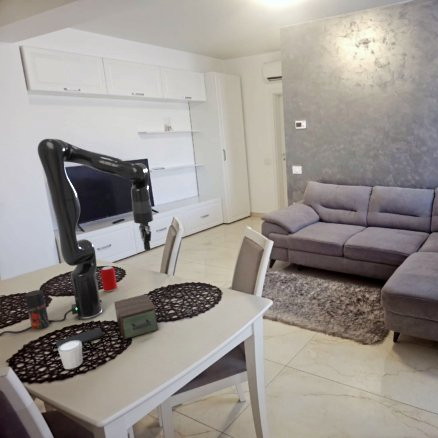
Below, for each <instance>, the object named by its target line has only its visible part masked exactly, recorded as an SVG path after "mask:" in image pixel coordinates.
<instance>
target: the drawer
mask: <svg viewBox="0 0 438 438" xmlns="http://www.w3.org/2000/svg"><path fill="white" fill-rule="evenodd" d="M155 311H156V310H155ZM155 311H154V310H152V311H151V310H150V311H147V312H143V313H141V314H137V315H133V316H128V317H125V318H122V321H123V328H124V334H125V340H127V339H126V338H128V339H130V338H129V337H131V338H133V337H132V336H135V337H137V336H136V335H138V336H140V335H139V334H141V335H143V334H142V333H145V334H147V333H146V332H148V333H150V332H149V331H151V332H153V331H152V330H155V331H157V330H156V329H157V327H156V319H155Z"/></svg>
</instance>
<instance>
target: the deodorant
mask: <svg viewBox="0 0 438 438" xmlns="http://www.w3.org/2000/svg"><path fill="white" fill-rule="evenodd" d="M44 296H45V295H44V291H43V290H42V289H36V290H31V291H28V292H26V293H25V294H24V298H25V302H26V308H27V311H28V317H29V321H30V327H32V328H31V330H32V331H34V332H35V331H36V332H37V331H42V330H45V329H47V328H48V327H50V322H49V320H50V319H49V315H48V311H47V305H46V301H45V297H44Z"/></svg>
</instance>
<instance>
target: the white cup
mask: <svg viewBox="0 0 438 438" xmlns="http://www.w3.org/2000/svg"><path fill="white" fill-rule="evenodd" d="M57 351H58V354H59V357H60V360H61V363H62V367H63V368H64V369H65V370H73V369H76V368H78V367H80V366H81V365H82V364H83V362H84V361H83V359H84V358H83V343H81V341H79V340H74V341H69V342H66V343H64V344H62V345H61V346H59V348H57Z"/></svg>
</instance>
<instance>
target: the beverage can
mask: <svg viewBox="0 0 438 438" xmlns="http://www.w3.org/2000/svg"><path fill="white" fill-rule="evenodd" d="M100 277H101V282H102V288H103V289H102V290H103V291H105V292H109V293H110V292H114V291H115V290H116V289H117V288H118V285H117V284H118V283H117V278H116V271H115V268H114V267H113V266H112V265H108V266H104V267H102V268H101V270H100Z"/></svg>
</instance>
